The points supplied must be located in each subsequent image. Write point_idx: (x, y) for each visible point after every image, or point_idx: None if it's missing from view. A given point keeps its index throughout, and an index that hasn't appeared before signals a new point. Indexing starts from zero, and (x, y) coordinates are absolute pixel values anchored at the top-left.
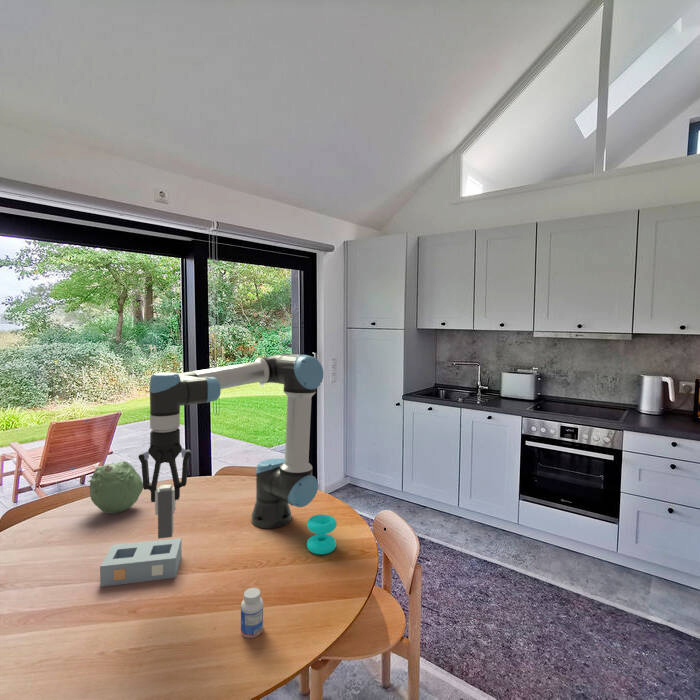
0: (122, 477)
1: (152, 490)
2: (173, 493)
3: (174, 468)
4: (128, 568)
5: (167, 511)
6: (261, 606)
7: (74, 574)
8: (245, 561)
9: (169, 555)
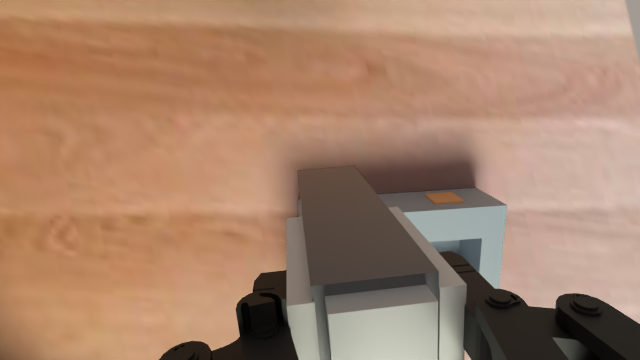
0: None
1: (496, 294)
2: (295, 285)
3: None
4: (427, 204)
5: (328, 210)
6: None
7: (545, 248)
8: (113, 251)
9: None
